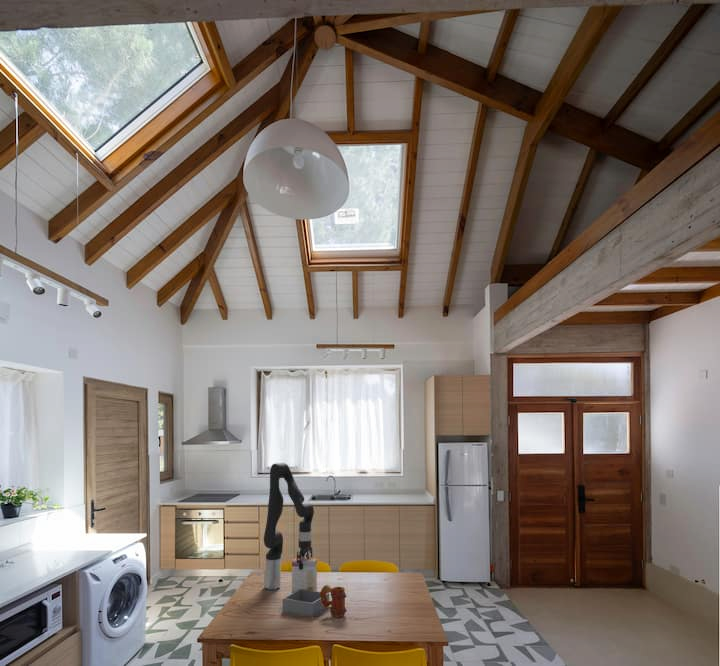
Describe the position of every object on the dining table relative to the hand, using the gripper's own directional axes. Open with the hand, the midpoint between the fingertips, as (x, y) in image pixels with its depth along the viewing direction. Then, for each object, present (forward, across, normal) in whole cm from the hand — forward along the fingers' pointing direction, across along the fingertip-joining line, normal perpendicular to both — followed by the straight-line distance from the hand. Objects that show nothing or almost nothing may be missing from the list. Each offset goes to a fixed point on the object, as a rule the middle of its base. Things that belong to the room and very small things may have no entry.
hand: (304, 567), depth 330 cm
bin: (+16, +18, +12) cm, 27 cm away
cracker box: (+16, 0, 0) cm, 16 cm away
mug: (+16, +20, +30) cm, 40 cm away
